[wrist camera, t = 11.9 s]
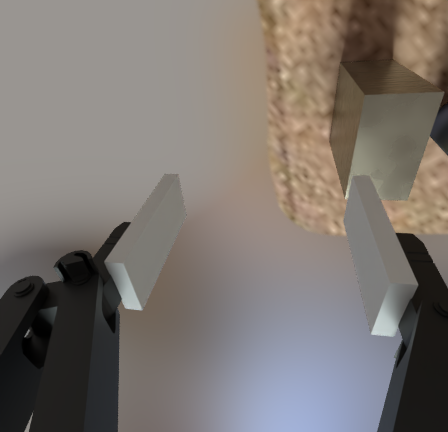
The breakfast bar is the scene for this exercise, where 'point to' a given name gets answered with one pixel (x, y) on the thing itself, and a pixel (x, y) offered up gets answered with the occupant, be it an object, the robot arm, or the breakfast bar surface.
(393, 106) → the bookend
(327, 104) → the breakfast bar surface
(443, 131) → the small box
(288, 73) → the breakfast bar surface
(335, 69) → the breakfast bar surface
